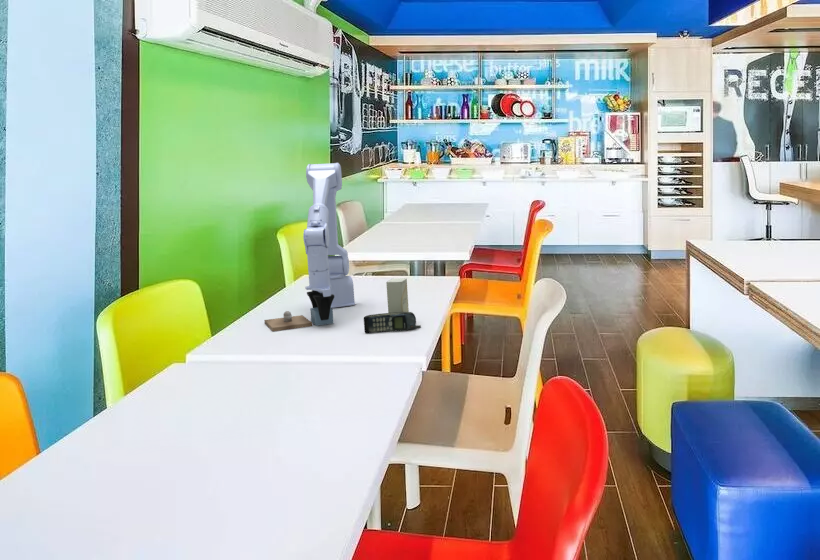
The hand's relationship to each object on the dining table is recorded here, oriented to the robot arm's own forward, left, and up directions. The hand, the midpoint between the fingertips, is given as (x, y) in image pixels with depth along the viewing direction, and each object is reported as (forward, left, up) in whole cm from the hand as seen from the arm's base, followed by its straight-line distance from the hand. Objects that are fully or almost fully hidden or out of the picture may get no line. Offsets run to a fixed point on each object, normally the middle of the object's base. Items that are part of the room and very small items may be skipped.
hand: (321, 317), depth 207 cm
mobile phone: (-14, +19, -2) cm, 24 cm away
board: (+9, -3, -1) cm, 10 cm away
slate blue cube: (0, 0, -1) cm, 1 cm away
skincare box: (-18, +13, -2) cm, 22 cm away
